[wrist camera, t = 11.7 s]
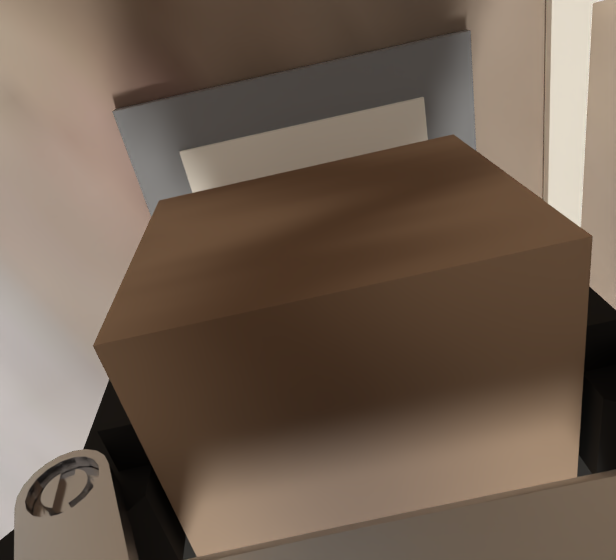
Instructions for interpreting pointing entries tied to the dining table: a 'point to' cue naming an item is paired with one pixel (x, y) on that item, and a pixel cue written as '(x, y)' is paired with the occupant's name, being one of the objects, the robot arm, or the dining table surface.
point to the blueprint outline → (566, 103)
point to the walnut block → (351, 343)
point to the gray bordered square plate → (301, 117)
